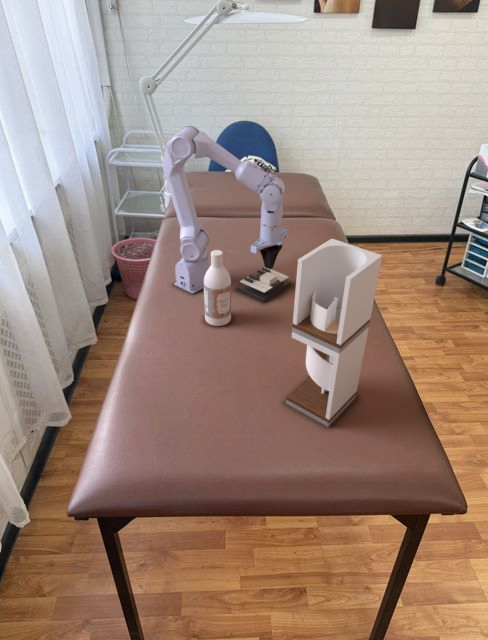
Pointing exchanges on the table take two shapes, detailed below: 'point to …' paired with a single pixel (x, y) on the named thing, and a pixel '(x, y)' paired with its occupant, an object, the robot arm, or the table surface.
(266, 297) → the toy piano
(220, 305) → the bath foam
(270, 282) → the square cream block
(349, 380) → the white tower
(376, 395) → the table surface
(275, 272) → the piano keys trim
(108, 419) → the table surface
